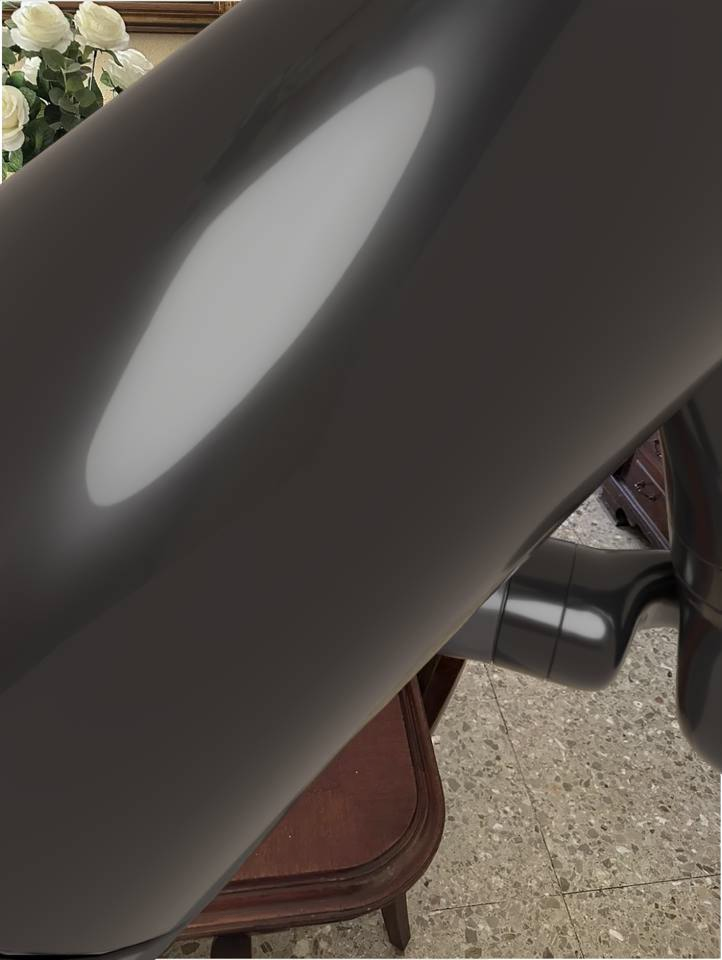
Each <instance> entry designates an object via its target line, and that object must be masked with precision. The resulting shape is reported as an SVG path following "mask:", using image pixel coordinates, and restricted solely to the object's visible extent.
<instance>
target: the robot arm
mask: <svg viewBox="0 0 722 960" xmlns="http://www.w3.org/2000/svg"><path fill="white" fill-rule="evenodd" d="M656 433H657V438H658V443H659V449H660V455H661V456H660V457H661V463H662V465H661V466H662V474H663V485H664V497H665V508H666V517H667V529H668V539H669V540H668V541H669V549H663V548H662V549H660V548H659V549H657V548H656V549H651V548H650V549H647V548H645V549H643V548H639V549H638V548H634V549H633V548H632V549H629V548H627V549H626V548H625V549H623V548H622V549H618V548H600V547H595V546H590V545H587V544H584V543H579V542H577V543H576V542H574V541H571V540H566V539H563V538H557V537H553V536H552V535H553V534H554V533H555V532H556V531H557V530H558V529H559V528H560V527H561V526H562V525H563V524H564V523H565V522H566V521H567V520H568V519H569V518H570V517H571V516H572V515H573V514H574V513H575V512H576V511H577V510H578V509H579V508H580V507H581V506H582V505H583V504H584V503H585V502H586V501H587V500H588V499H589V498H590V497H591V496H592V495H593V494H594V493H595V492H596V491H597V490H598V489H599V488H600V487H601V486H602V485H603V484H604V483H605V482H606V481H607V480H608V479H609V478H610V477H611V476H613V474H614V473H615V472H617V470H618V469H620V467H621V466H623V464H624V463H625V462H627V461H628V460H629V459H630V458H631V457H632V455H634V453H636V452H637V451H638V450H639V449H640V447H642V446H643V445H645V444H646V442H647V441H648V440H649V439H651V438H652V436H653V435H654V434H656ZM660 628H661V629H663V628H667V629H675V630H678V631H677V644H676V645H677V646H676V664H675V665H676V666H675V667H676V668H675V691H674V692H675V693H674V694H675V695H674V696H675V697H674V699H675V700H674V705H675V716H676V721H677V723H678V727H679V729H680V732H681V733H682V735H683V737H684V739H685V740H686V742H687V743H688V745H689V746H690V748H691V749H692V750H693V751H694V752H695V754H697V755H698V756H699V758H700V759H701V760H703V761H704V762H705V763H706V764H707V765H708V766H709V767H710V768H712V769H713V770H715V771H716V772H717V773H719V774H720V775H722V0H240V1H238V2H237V3H236V4H234V5H233V6H232V7H230V8H229V9H228V10H227V11H225V12H224V13H223V14H221V15H220V16H219V17H218V18H216V19H215V20H214V21H212V22H211V23H209V24H208V25H207V26H206V27H204V28H203V29H202V30H200V31H199V32H198V33H196V34H195V35H194V36H193V37H191V38H190V39H189V40H187V41H186V42H185V43H184V44H182V45H181V46H179V48H177V49H176V50H174V51H173V52H172V53H170V54H169V55H167V57H166V58H164V59H163V60H161V61H160V62H159V63H157V64H156V65H155V66H154V67H153V68H151V69H150V70H148V71H147V72H146V73H145V74H143V75H142V76H141V77H139V78H138V79H137V80H136V81H134V82H133V83H131V84H130V85H129V86H128V87H126V88H125V89H124V90H122V91H121V92H120V93H118V94H117V95H116V96H114V97H113V98H112V99H110V100H109V101H108V102H106V103H105V104H104V105H102V106H101V107H99V109H97V110H95V112H93V113H92V114H90V115H89V116H88V117H87V118H85V119H83V121H81V122H80V123H78V124H77V125H76V126H74V127H73V128H71V129H70V130H69V131H68V132H67V133H66V134H64V135H63V136H61V137H60V138H59V139H57V140H56V141H55V142H54V143H51V145H49V146H48V147H47V148H46V149H44V150H43V151H42V152H40V153H38V154H37V155H36V156H35V157H34V158H32V159H31V160H30V161H28V162H27V163H25V164H24V165H23V166H22V167H20V168H19V169H18V170H17V171H15V172H14V173H12V174H11V175H10V176H9V177H7V178H6V179H5V180H3V181H2V182H1V183H0V960H157V958H159V957H160V955H161V954H162V953H163V952H165V950H166V949H167V948H168V947H169V946H170V945H171V944H172V943H173V942H174V941H175V939H177V938H178V936H180V934H181V933H183V931H184V930H185V929H186V928H187V927H188V926H189V925H190V924H191V923H192V922H193V921H194V920H195V919H196V917H198V916H199V914H201V912H202V911H203V910H204V909H205V908H206V907H207V906H208V905H210V903H212V902H213V900H215V899H216V898H217V896H218V895H219V894H220V893H221V892H222V891H223V889H224V888H225V887H227V885H228V884H229V883H230V881H231V880H232V879H233V878H234V877H235V876H236V875H237V874H238V873H239V871H240V870H241V869H242V868H243V867H244V866H245V864H246V863H247V862H248V861H249V860H250V859H251V857H252V856H253V855H254V854H255V853H256V852H257V850H259V848H260V847H261V846H262V845H263V844H264V843H265V842H266V840H267V839H268V838H269V837H270V836H271V834H272V833H273V832H274V831H275V830H276V829H277V828H278V827H279V825H280V824H282V822H283V821H284V820H285V819H286V817H287V816H288V815H289V814H290V813H291V812H292V811H293V810H294V808H295V807H297V805H298V804H299V802H300V801H301V800H302V799H303V798H304V797H305V796H306V795H307V794H308V793H309V792H310V790H311V789H312V788H313V787H314V786H315V785H316V783H317V782H318V781H319V780H320V779H321V778H322V777H323V775H324V774H325V773H326V772H327V771H328V770H329V769H330V768H331V766H332V765H333V764H334V763H335V762H336V761H337V760H338V759H339V758H340V756H341V755H342V754H343V753H344V752H345V751H346V750H347V748H349V746H350V745H351V744H352V743H353V742H354V741H355V740H356V739H357V737H359V735H360V734H361V733H362V732H363V731H364V730H365V729H366V728H367V727H368V726H369V725H370V723H372V721H373V720H374V719H375V718H376V717H377V716H378V715H379V714H380V713H381V712H382V710H384V709H385V708H386V706H387V705H388V704H389V703H390V702H391V701H392V700H393V699H394V698H395V696H396V695H397V694H399V692H400V691H401V690H402V689H403V688H404V687H405V686H406V685H407V684H408V683H409V682H410V681H411V680H412V679H413V678H414V677H415V676H416V674H418V673H419V672H420V671H421V670H422V668H423V667H425V665H426V664H427V663H428V662H429V661H430V660H431V659H432V658H433V657H434V656H436V654H437V655H440V656H444V657H449V658H454V659H460V660H467V661H473V662H479V663H484V664H488V665H491V664H492V665H493V667H494V666H495V667H497V668H501V669H504V670H508V671H511V672H515V673H518V674H521V675H524V676H529V677H531V678H535V679H538V680H541V681H545V682H549V683H552V684H554V685H558V686H562V687H566V688H569V689H573V690H577V691H582V692H591V693H592V692H600V691H603V690H605V689H607V688H609V687H610V686H611V685H612V684H613V683H614V682H616V681H615V680H616V679H617V678H618V676H619V675H620V673H621V672H622V669H623V667H624V664H625V662H626V660H627V657H628V655H629V653H630V650H631V647H632V645H633V642H634V639H635V637H636V634H637V632H640V631H644V630H650V629H660Z"/></svg>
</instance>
